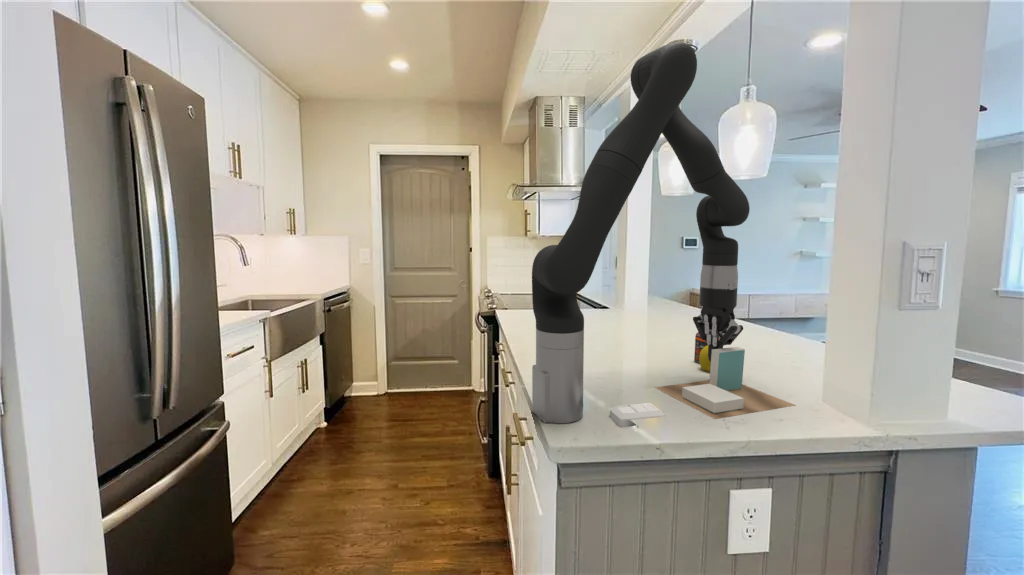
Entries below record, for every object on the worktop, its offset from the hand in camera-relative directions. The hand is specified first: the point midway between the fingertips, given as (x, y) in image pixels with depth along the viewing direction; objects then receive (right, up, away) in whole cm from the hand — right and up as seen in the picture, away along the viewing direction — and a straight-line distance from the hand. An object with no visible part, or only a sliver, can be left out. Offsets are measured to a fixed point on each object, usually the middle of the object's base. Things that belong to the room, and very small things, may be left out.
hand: (714, 361), depth 99 cm
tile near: (-7, -5, -7) cm, 11 cm away
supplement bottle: (+6, -5, +18) cm, 19 cm away
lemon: (+4, -5, +11) cm, 13 cm away
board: (-2, -7, -6) cm, 10 cm away
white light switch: (-22, -9, -15) cm, 28 cm away
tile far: (+1, -6, -3) cm, 6 cm away
